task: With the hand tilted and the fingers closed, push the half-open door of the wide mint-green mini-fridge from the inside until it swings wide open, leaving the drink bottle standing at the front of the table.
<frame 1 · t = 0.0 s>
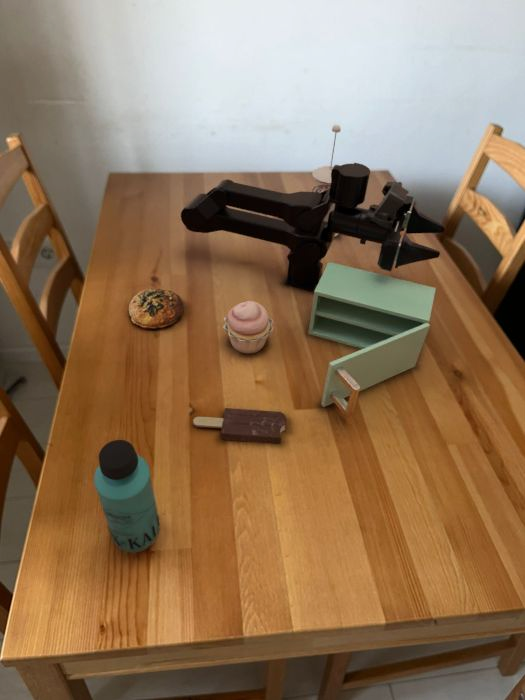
hand: (442, 241, 95), 17 cm above the table, tool horizontal, fingers open, 9 cm apart
beverage bottle: (138, 536, 70), on the table
fridge: (365, 331, 101), on the table
bread roll: (155, 313, 102), on the table
french press: (320, 229, 128), on the table
ice cream bar: (239, 428, 83), on the table
cupcake: (247, 343, 97), on the table
fridge door: (385, 374, 86), point 5 cm above the table, hinge at 50.0°
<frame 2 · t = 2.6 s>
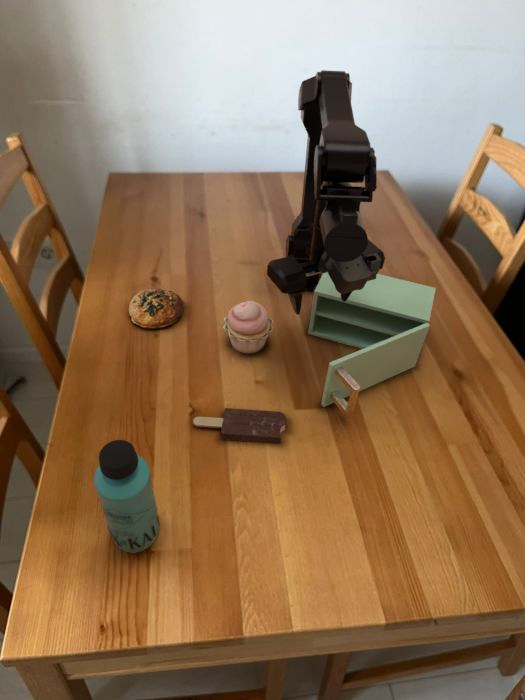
hand: (320, 306, 87), 12 cm above the table, tool pointing down, fingers open, 9 cm apart
nothing on the table moved.
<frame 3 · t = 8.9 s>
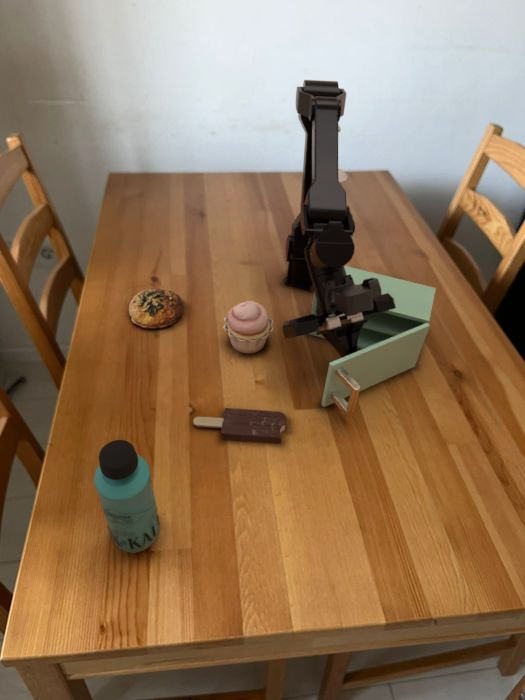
hand: (352, 366, 85), 7 cm above the table, tool tilted 45°, fingers closed
fridge door: (385, 374, 86), point 5 cm above the table, hinge at 50.1°, touching gripper
everything else where it was.
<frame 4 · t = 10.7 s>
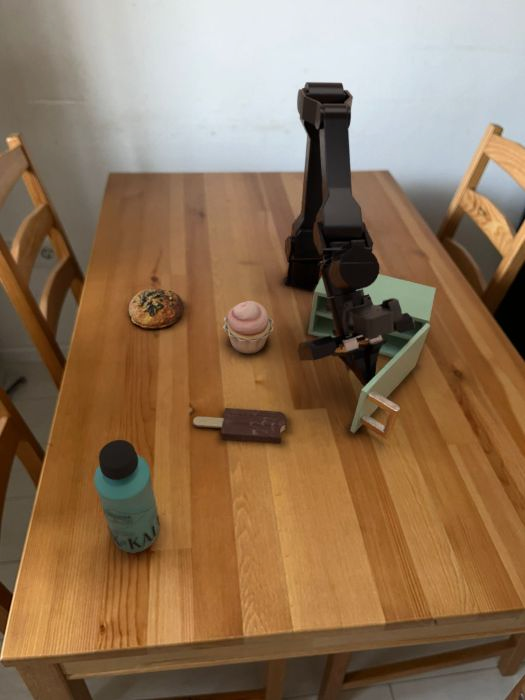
hand: (370, 388, 82), 7 cm above the table, tool tilted 45°, fingers closed
fridge door: (404, 384, 84), point 5 cm above the table, hinge at 69.4°, touching gripper
everything else where it was.
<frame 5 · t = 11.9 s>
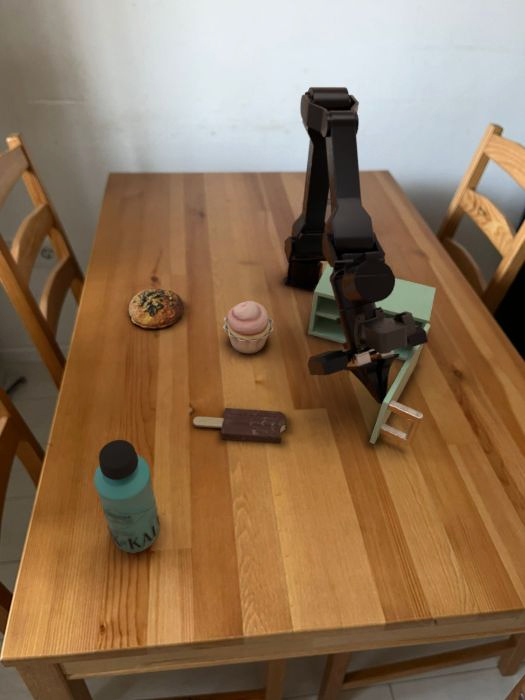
hand: (382, 403, 80), 7 cm above the table, tool tilted 45°, fingers closed
fridge door: (415, 388, 84), point 5 cm above the table, hinge at 79.4°, touching gripper
everything else where it was.
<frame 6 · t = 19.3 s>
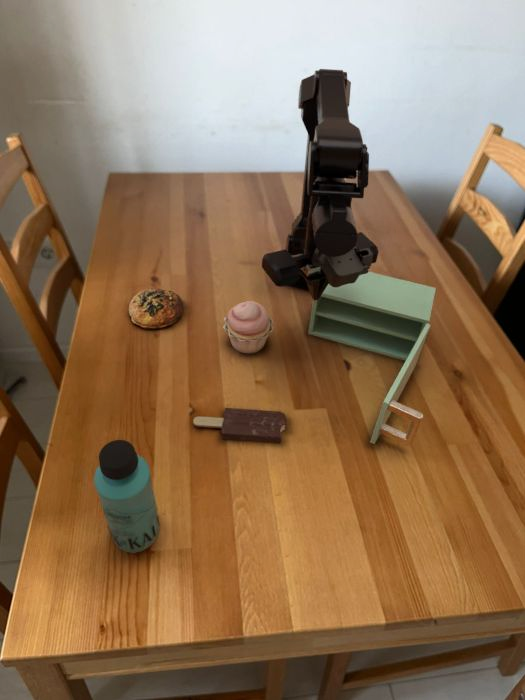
hand: (314, 298, 89), 12 cm above the table, tool pointing down, fingers closed
fridge door: (416, 388, 84), point 5 cm above the table, hinge at 79.5°
everything else where it was.
at the end: fridge door at +80° (first picture: +50°); beverage bottle tilted 0° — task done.
